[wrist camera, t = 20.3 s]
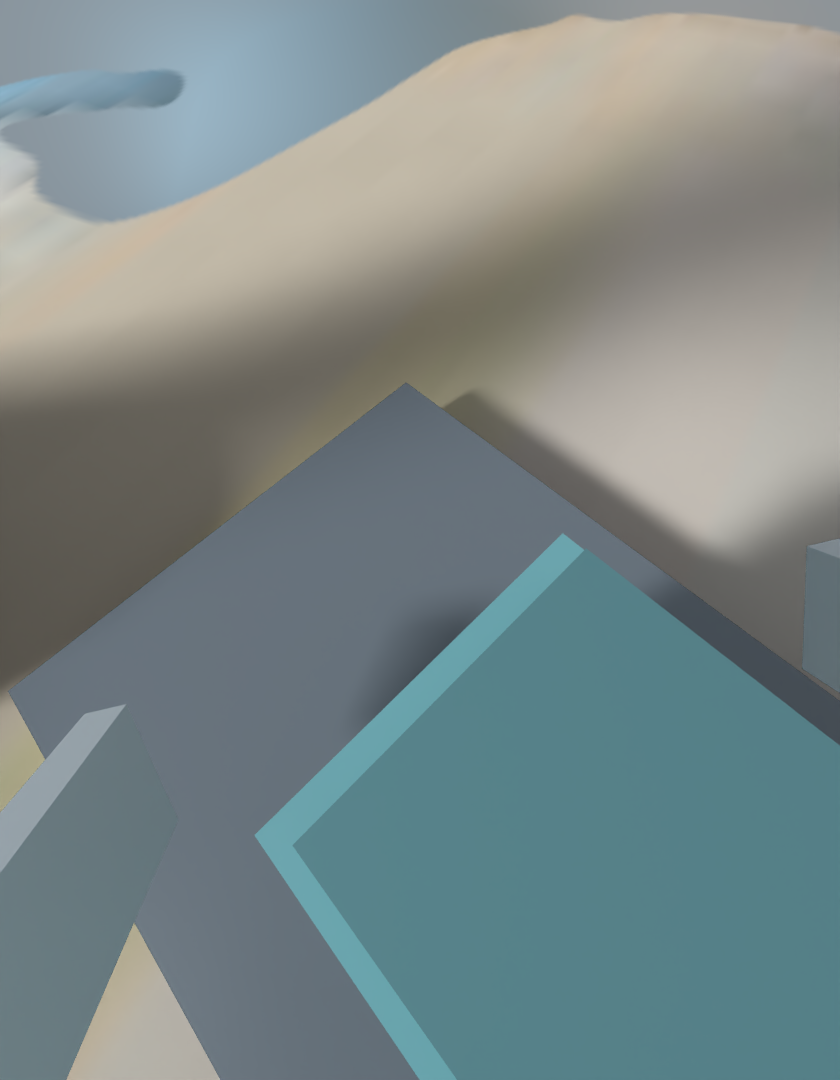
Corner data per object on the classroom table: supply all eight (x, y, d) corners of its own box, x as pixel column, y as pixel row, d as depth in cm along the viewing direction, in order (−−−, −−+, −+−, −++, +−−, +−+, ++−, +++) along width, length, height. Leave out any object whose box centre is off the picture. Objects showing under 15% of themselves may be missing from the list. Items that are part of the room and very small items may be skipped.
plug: (401, 808, 15) (213, 842, 4) (494, 710, 16) (578, 492, 5) (503, 933, 13) (740, 1670, 2) (598, 815, 15) (1097, 872, 3)
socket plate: (67, 705, 17) (8, 691, 15) (411, 425, 21) (406, 382, 19) (725, 1806, 8) (823, 2182, 6) (1084, 947, 13) (1219, 980, 10)
